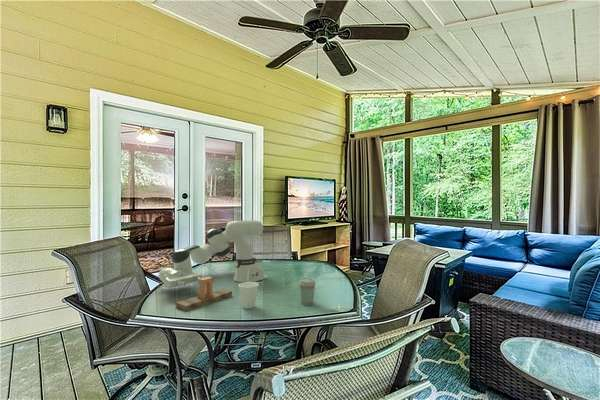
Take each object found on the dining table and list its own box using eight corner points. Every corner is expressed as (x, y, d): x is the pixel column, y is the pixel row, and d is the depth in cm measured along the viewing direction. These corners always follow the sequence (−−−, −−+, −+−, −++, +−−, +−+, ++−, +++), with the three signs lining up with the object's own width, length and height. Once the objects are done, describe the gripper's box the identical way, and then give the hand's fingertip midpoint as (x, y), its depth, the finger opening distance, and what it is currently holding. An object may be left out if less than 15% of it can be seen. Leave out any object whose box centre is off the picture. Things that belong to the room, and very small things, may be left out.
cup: (254, 311, 141) (254, 288, 141) (234, 309, 143) (235, 286, 143) (261, 304, 151) (261, 282, 151) (242, 302, 153) (243, 281, 152)
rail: (222, 293, 167) (222, 288, 167) (231, 296, 162) (231, 291, 162) (176, 307, 145) (176, 302, 145) (185, 311, 140) (185, 306, 140)
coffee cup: (310, 307, 146) (310, 283, 146) (295, 304, 150) (295, 280, 150) (318, 302, 153) (318, 279, 153) (304, 299, 158) (304, 277, 158)
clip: (208, 299, 157) (208, 276, 157) (212, 300, 155) (212, 277, 155) (198, 302, 152) (198, 279, 152) (202, 303, 150) (203, 280, 150)
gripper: (194, 279, 177) (208, 283, 169) (161, 287, 161) (175, 292, 152) (194, 269, 177) (208, 272, 169) (161, 276, 161) (175, 280, 152)
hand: (192, 282), depth 160 cm, fingers open, 8 cm apart
